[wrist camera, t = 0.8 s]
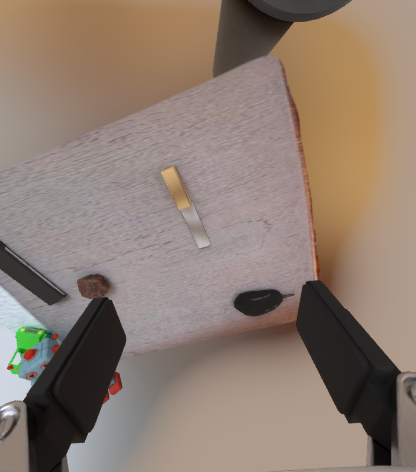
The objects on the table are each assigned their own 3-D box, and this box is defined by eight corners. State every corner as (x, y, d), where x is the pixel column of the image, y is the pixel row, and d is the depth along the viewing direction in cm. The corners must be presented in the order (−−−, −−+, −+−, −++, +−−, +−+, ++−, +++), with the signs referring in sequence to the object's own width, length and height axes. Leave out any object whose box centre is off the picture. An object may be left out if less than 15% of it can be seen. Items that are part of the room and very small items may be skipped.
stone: (109, 270, 44) (102, 279, 41) (115, 294, 47) (109, 304, 44) (79, 269, 44) (70, 279, 41) (87, 294, 47) (80, 304, 44)
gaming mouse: (293, 302, 50) (299, 316, 46) (235, 309, 51) (237, 323, 47) (294, 284, 46) (301, 297, 43) (232, 292, 48) (234, 306, 44)
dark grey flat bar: (-2, 239, 40) (-16, 249, 41) (-9, 242, 39) (-22, 253, 40) (67, 294, 47) (53, 301, 48) (63, 298, 45) (49, 305, 47)
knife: (162, 170, 34) (159, 172, 32) (176, 164, 34) (174, 166, 31) (199, 247, 42) (199, 254, 39) (210, 243, 41) (211, 250, 39)
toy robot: (91, 418, 56) (-12, 398, 37) (87, 380, 65) (1, 348, 46) (132, 384, 60) (57, 350, 41) (123, 352, 68) (58, 311, 49)
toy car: (53, 352, 57) (35, 378, 51) (29, 349, 56) (7, 374, 50) (49, 328, 52) (28, 354, 46) (21, 324, 51) (-3, 349, 45)
